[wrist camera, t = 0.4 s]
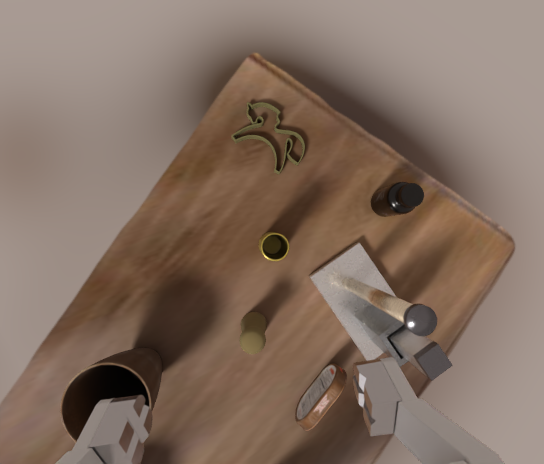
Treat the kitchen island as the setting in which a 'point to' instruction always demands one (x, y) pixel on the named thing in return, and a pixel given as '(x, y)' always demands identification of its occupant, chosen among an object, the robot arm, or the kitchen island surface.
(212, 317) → the kitchen island surface
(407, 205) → the supplement bottle
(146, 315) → the kitchen island surface
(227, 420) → the kitchen island surface
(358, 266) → the stand
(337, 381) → the tin
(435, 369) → the column
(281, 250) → the vase
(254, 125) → the cookie cutter
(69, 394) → the plant pot
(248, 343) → the olive waisted cylinder
